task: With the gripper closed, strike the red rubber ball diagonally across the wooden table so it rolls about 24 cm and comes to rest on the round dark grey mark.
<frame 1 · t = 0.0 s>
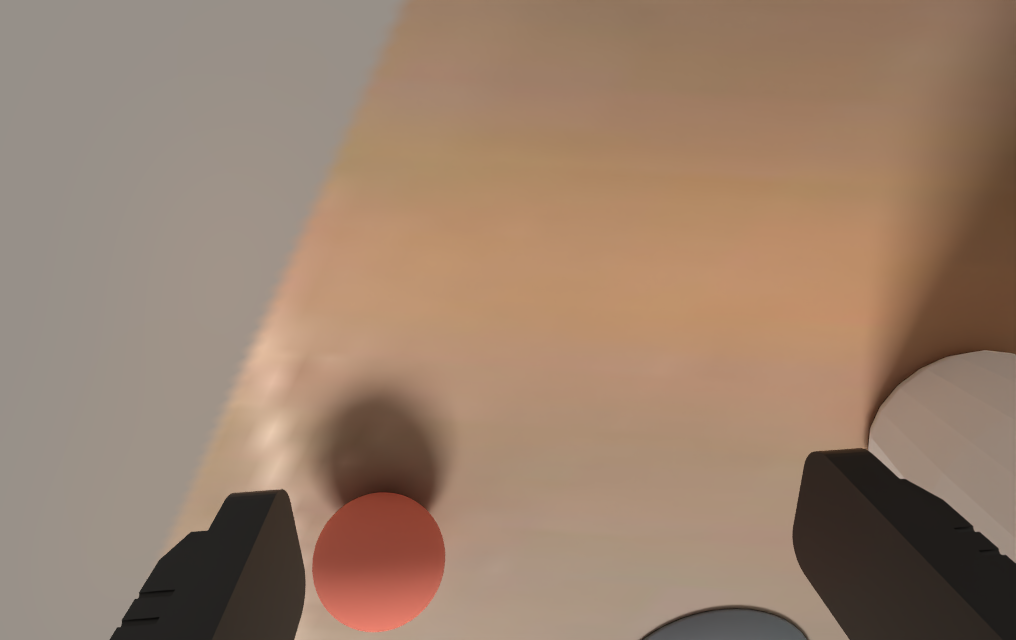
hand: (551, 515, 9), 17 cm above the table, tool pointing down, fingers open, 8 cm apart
ball: (380, 559, 28), on the table
bottle: (944, 422, 31), on the table
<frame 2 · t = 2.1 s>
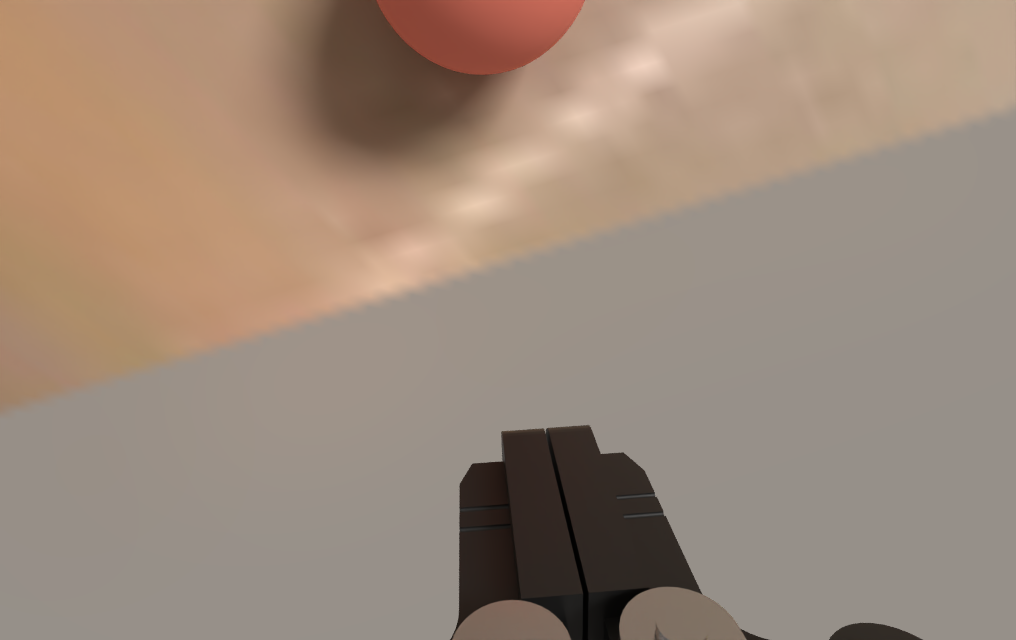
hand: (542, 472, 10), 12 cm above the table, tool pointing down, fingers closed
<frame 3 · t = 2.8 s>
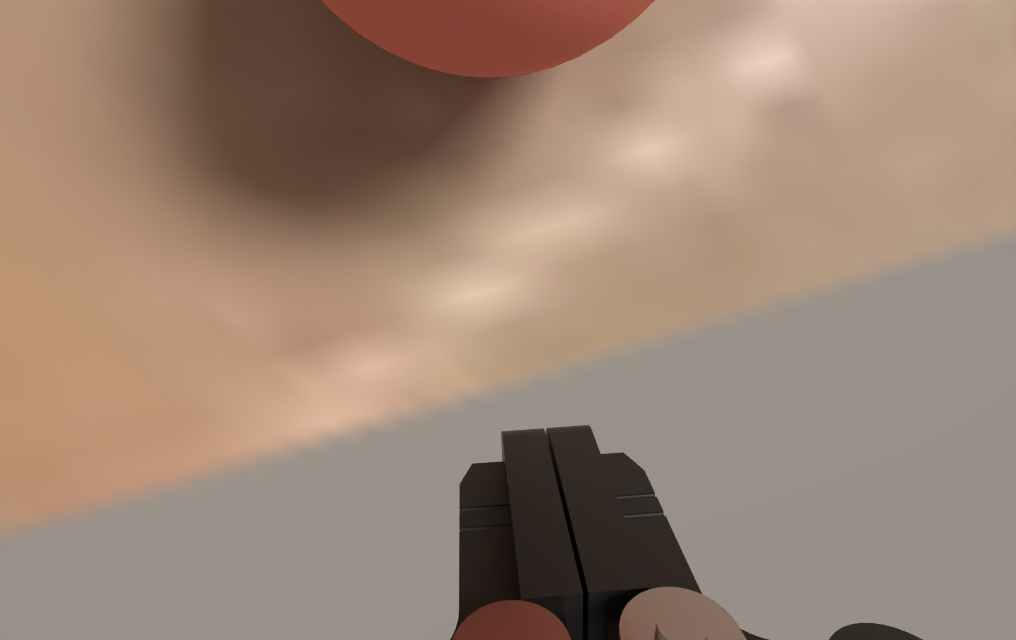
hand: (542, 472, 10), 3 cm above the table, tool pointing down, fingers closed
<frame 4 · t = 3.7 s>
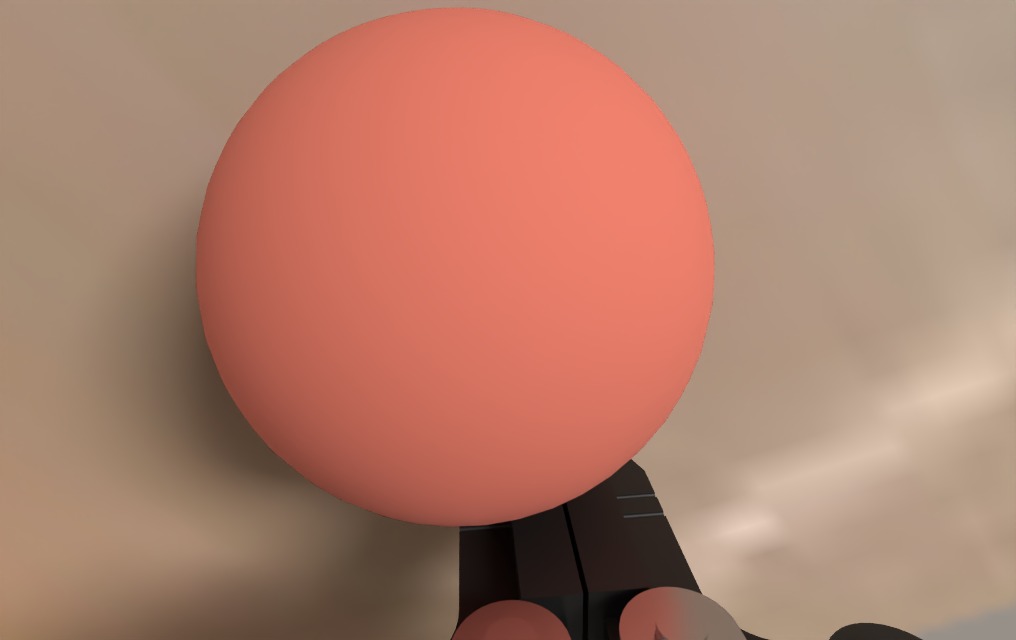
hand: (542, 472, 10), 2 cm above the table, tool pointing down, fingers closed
ball: (463, 275, 8), on the table, touching gripper
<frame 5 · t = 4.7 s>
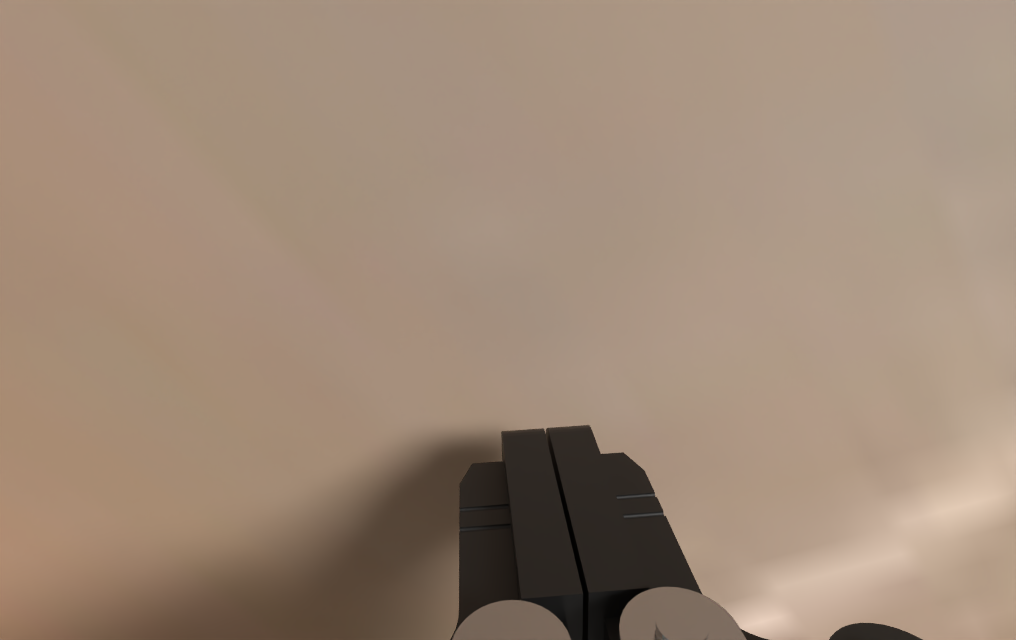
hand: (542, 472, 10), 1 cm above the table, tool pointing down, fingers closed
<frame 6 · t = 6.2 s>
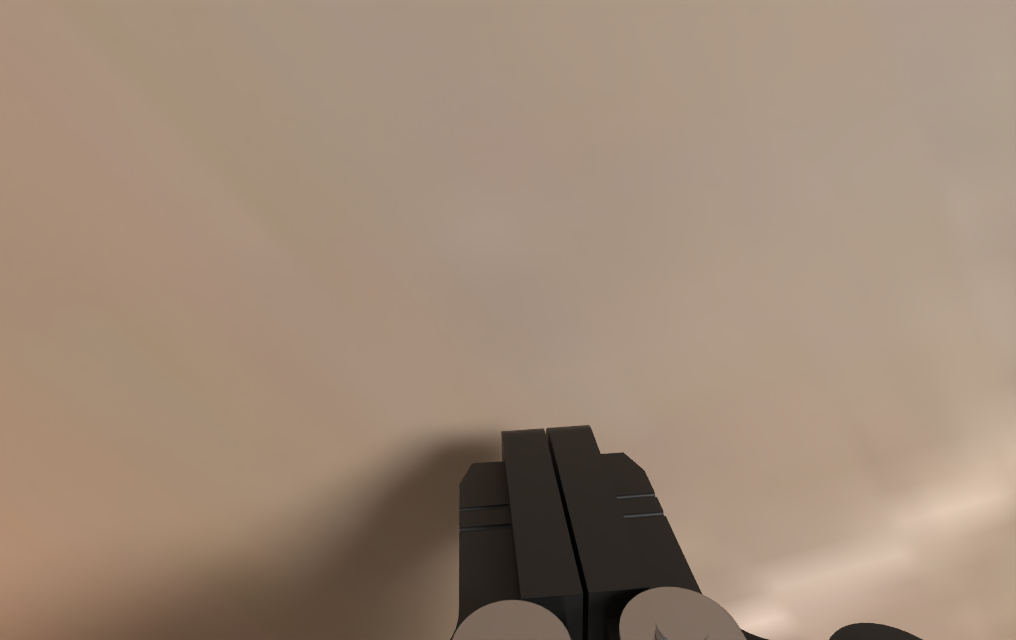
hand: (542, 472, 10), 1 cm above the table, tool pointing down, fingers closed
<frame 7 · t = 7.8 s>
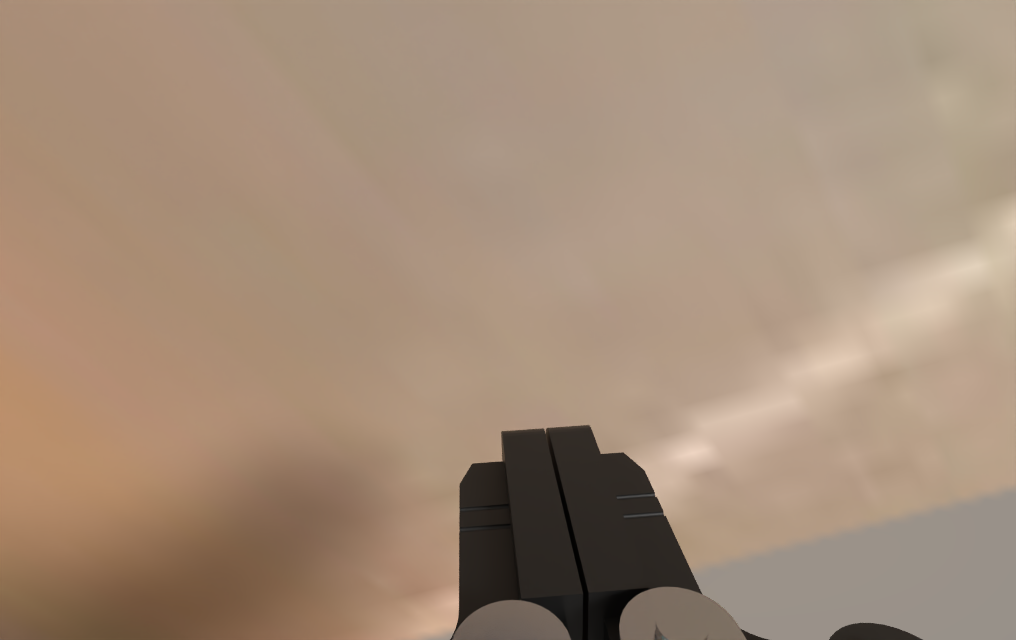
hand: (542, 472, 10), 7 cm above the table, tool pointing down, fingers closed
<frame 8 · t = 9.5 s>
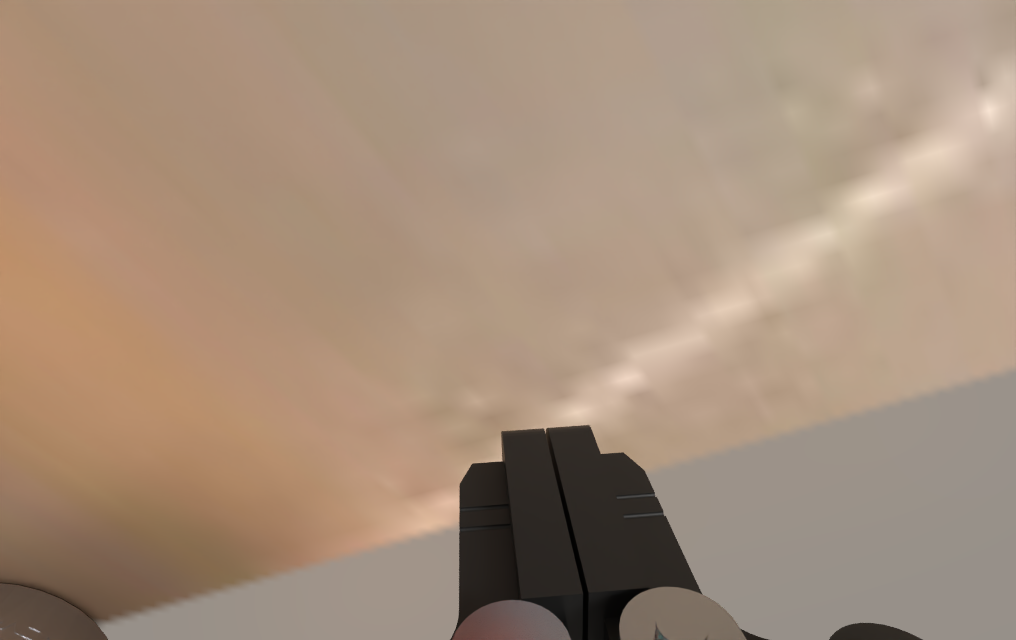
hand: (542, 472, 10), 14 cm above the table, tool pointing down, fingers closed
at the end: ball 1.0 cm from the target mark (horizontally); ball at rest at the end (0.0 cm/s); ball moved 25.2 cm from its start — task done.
